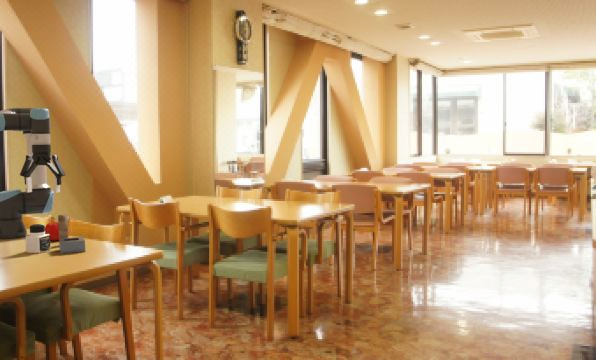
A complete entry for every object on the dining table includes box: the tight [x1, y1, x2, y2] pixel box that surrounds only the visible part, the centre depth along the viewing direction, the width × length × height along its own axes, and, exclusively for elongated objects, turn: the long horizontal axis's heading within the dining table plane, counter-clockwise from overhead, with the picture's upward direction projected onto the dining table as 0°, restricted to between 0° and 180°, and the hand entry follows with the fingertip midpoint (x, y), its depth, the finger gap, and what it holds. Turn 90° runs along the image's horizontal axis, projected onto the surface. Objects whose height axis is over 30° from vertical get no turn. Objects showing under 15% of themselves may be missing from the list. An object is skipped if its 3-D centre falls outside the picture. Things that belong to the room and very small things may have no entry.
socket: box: [58, 236, 86, 255], centre depth 242 cm, size 10×10×5 cm
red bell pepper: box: [44, 221, 59, 241], centre depth 267 cm, size 11×11×9 cm
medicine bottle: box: [24, 223, 51, 254], centre depth 241 cm, size 7×7×12 cm
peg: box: [57, 214, 69, 245], centre depth 254 cm, size 4×4×14 cm
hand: (43, 192), depth 242 cm, fingers open, 13 cm apart
